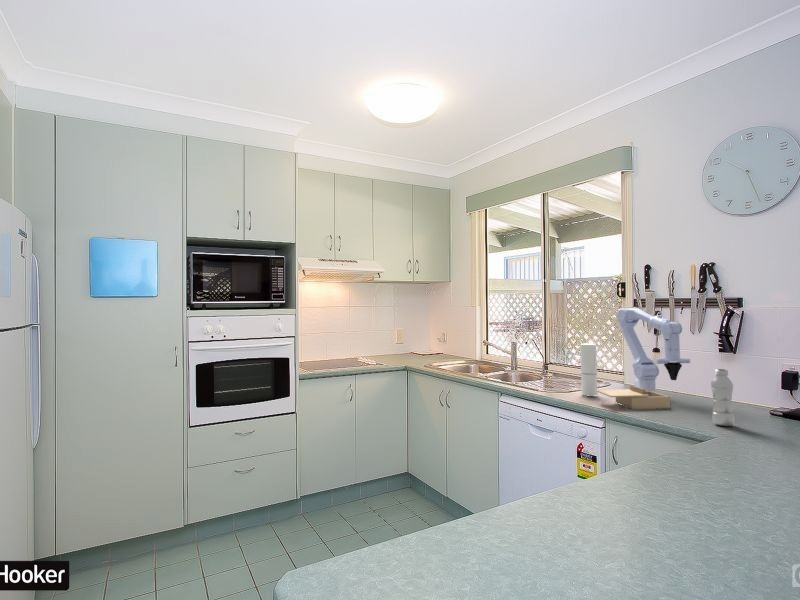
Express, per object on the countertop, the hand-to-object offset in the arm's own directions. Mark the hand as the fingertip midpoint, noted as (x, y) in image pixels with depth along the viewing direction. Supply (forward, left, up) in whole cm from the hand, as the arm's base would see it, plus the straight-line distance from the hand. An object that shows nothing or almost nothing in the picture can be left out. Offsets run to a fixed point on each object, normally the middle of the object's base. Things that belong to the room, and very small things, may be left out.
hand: (673, 380), depth 201 cm
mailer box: (+3, -16, -10) cm, 19 cm away
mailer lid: (+3, -25, -5) cm, 25 cm away
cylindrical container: (-22, -28, -11) cm, 37 cm away
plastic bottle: (+38, -6, -11) cm, 40 cm away
